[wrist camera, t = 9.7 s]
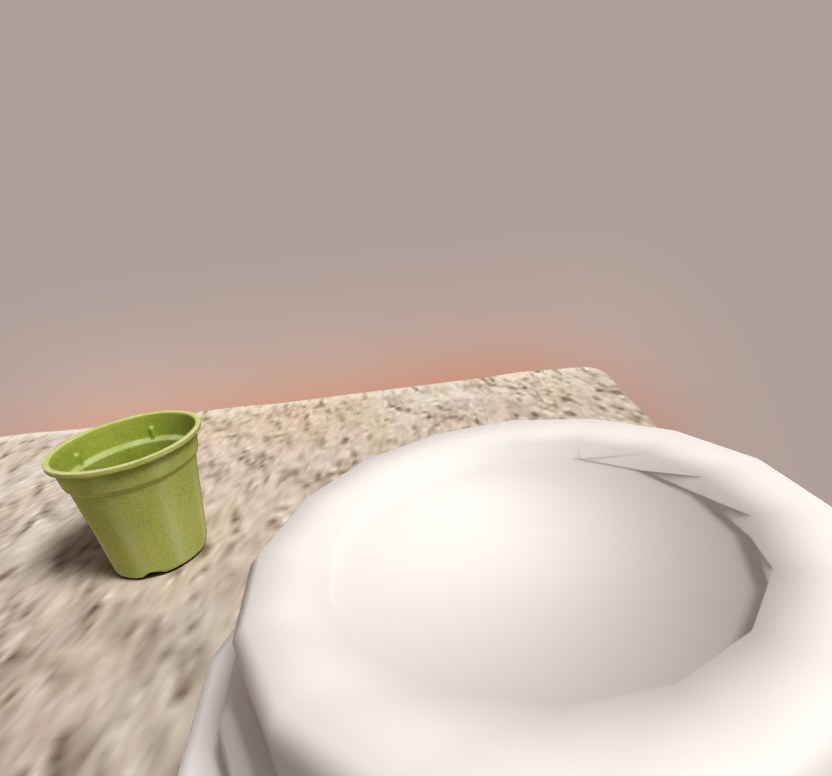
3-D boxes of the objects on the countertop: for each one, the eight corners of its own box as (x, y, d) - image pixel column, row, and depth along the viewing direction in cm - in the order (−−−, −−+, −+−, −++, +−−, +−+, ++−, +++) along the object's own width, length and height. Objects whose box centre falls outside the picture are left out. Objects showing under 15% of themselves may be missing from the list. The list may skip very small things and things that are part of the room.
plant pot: (57, 578, 40) (10, 463, 37) (172, 506, 47) (141, 404, 44) (147, 613, 35) (101, 483, 32) (259, 526, 43) (230, 414, 40)
